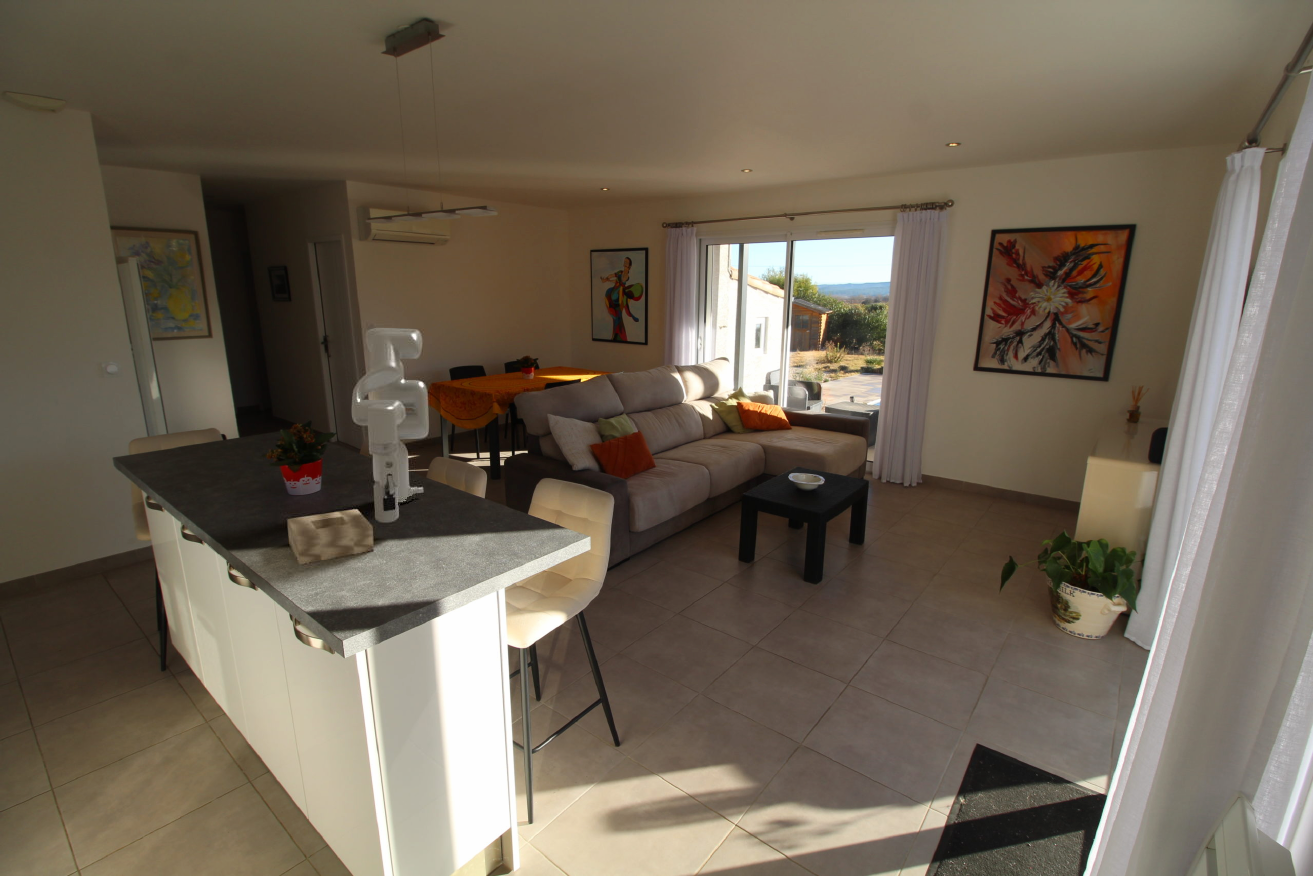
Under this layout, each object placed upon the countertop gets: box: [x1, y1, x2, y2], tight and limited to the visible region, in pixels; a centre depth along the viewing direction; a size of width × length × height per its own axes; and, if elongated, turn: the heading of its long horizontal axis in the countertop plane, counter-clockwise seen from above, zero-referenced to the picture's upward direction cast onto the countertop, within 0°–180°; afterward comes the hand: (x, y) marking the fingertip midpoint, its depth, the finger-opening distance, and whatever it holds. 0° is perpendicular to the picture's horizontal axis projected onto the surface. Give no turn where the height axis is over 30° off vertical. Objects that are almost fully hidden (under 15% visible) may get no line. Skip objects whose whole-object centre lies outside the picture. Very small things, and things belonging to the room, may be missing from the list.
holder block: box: [286, 508, 374, 565], centre depth 170 cm, size 18×18×7 cm
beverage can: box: [373, 480, 400, 523], centre depth 178 cm, size 6×6×12 cm
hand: (386, 506), depth 179 cm, fingers closed on beverage can, 5 cm apart
